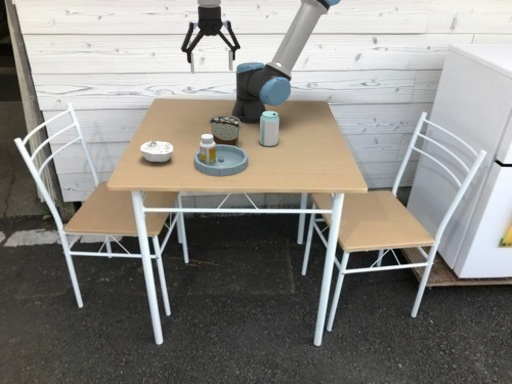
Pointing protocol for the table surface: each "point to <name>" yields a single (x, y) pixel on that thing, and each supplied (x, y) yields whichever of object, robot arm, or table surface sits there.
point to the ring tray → (224, 161)
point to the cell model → (157, 151)
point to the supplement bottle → (207, 150)
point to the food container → (225, 129)
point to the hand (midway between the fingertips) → (212, 71)
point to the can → (269, 128)
